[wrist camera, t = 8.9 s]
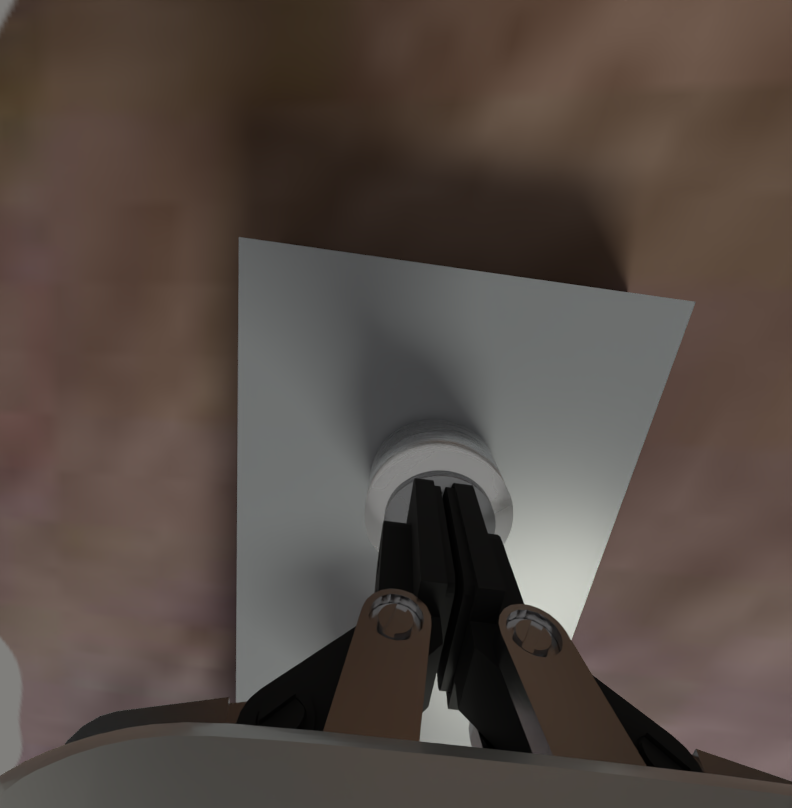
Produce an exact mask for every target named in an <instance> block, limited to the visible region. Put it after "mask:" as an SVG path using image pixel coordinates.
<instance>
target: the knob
mask: <svg viewBox="0 0 792 808" xmlns="http://www.w3.org/2000/svg"><path fill="white" fill-rule="evenodd" d="M414 478H420V479H427V480H434V485H435V486H440V487H441V492H442V498H443V494H444V490H445V487H450V488H451V487H452V484H453V483H459V484H467V485H473V487H474V490H475V493H476V496H477V499H478V503H479V506H480V509H481V512H482V516H483V519H484V522H485V525H486V529H487V532H488V533H489V534H497V535H499V536H500V537H501V539H502V542H503V545H504V544H505V542H506V540H507V538H508V536H509V534H510V531H511V528H512V523H513V504H512V500H511V496H510V493H509V491H508V489H507V487H506V484H505V482H504V480H503V478H502V475H501V473H500V471H499V469H498V466H497V464H496V462H495V460H494V458H493V455H492V453H491V451H490V449H489V448H488V446H487V445H486V443H485V442H484V441H483V440H482V439H481V438H480V437H479V436H478V435H477V434H476V433H475V432H473V431H472V430H470V429H469V428H467V427H465V426H463V425H461V424H458V423H455V422H451V421H446V420H424V421H418V422H415V423H411V424H409V425H406V426H404V427H402V428H400V429H399V430H397V431H395V432H394V433H393V434H392V435H390V436H389V437H388V438H387V439H386V440H385V441H384V442H383V443H382V445H381V446H380V448H379V449H378V451H377V453H376V455H375V457H374V460H373V463H372V467H371V473H370V479H369V485H368V491H367V497H366V503H365V510H364V521H365V527H366V531H367V534H368V537H369V539H370V541H371V543H372V545H373V546H374V548H375V549H376V550H377V552H378V553H379V546H380V539H381V532H382V525H383V521H392V522H400V523H406V522H407V516H408V510H409V504H410V498H411V493H412V487H413V481H414Z"/></svg>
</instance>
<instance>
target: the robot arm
mask: <svg viewBox="0 0 792 808" xmlns="http://www.w3.org/2000/svg"><path fill="white" fill-rule="evenodd" d="M436 673H437V682H438V689H439V691H446V696H447V706H448V709H452V710H459V711H460V712H461V713H462V714H463V715H464V716H465V717H466V718H467V719H468V720H469V722H470V723H469V728H468V729H469V737H470V742H471V745H472V747H468V746H459V745H450V744H440V743H431V742H421V741H420V731H421V721H422V713H423V712H424V711H425V710H426V709H427V708H428V707H429V703H430V699H431V694H432V690H433V686H434V682H435V678H436ZM0 808H792V781H789V780H786V779H783V778H780V777H777V776H774V775H771V774H768V773H765V772H762V771H759V770H756V769H753V768H751V767H748V766H745V765H742V764H739V763H736V762H733V761H730V760H727V759H724V758H721V757H718V756H715V755H712V754H709V753H706V752H703V751H701V750H698V749H696V750H695V751H694V753H693V755H691V754H690V752H689V751H688V750H687V749H686V748H685V747H684V746H683V745H682V744H681V743H680V742H679V741H678V740H677V739H675V738H674V737H673V736H672V735H671V734H669V733H668V732H667V731H666V730H664V729H663V728H662V727H660V726H659V725H658V724H656V723H655V722H654V721H652V720H651V719H650V718H648V717H647V716H646V715H644V714H643V713H642V712H640V711H639V710H638V709H636V708H635V707H634V706H632V705H631V704H630V703H628V702H627V701H626V700H625V699H623V698H622V697H621V696H619V695H618V694H617V693H615V692H614V691H613V690H611V689H610V688H609V687H607V686H606V685H605V684H603V683H602V682H601V681H599V680H598V679H597V678H595V677H594V676H593V675H592V674H591V672H590V671H589V669H588V667H587V666H586V664H585V662H584V661H583V659H582V657H581V656H580V654H579V652H578V651H577V649H576V647H575V645H574V644H573V642H572V640H571V639H570V637H569V635H568V634H567V632H566V631H565V629H564V628H563V627H562V625H561V624H560V623H559V622H558V621H557V620H556V619H555V618H553V617H552V616H551V615H550V614H548V613H546V612H545V611H543V610H541V609H539V608H536V607H534V606H531V605H525V604H524V602H523V599H522V596H521V593H520V590H519V588H518V585H517V582H516V579H515V576H514V573H513V570H512V568H511V565H510V562H509V559H508V556H507V553H506V551H505V548H504V545H503V542H502V539H501V537H500V536H499V535H497V534H489V533H488V532H487V529H486V525H485V522H484V519H483V516H482V512H481V509H480V506H479V503H478V499H477V496H476V493H475V490H474V487H473V485H467V484H459V483H453V484H452V487H451V488H450V487H445V490H444V494H443V498H442V492H441V487H440V486H435V485H434V480H427V479H420V478H414V481H413V487H412V493H411V498H410V504H409V510H408V516H407V522H406V523H400V522H392V521H383V525H382V532H381V539H380V546H379V553H378V561H377V570H376V581H375V592H374V593H373V594H372V595H371V596H370V597H368V598H367V599H366V601H365V603H364V604H363V606H362V609H361V612H360V615H359V618H358V621H357V625H356V626H355V627H354V628H352V629H351V630H349V631H348V632H346V633H345V634H343V635H342V636H340V637H339V638H337V639H336V640H334V641H333V642H331V643H329V644H328V645H326V646H325V647H323V648H322V649H320V650H319V651H317V652H316V653H314V654H313V655H311V656H310V657H308V658H307V659H305V660H304V661H302V662H301V663H299V664H298V665H296V666H295V667H293V668H291V669H290V670H288V671H287V672H285V673H284V674H282V675H281V676H279V677H278V678H276V679H275V680H273V681H272V682H270V683H269V684H267V685H266V686H264V687H263V688H261V689H260V690H259V691H257V692H256V693H255V694H254V695H253V696H252V697H250V698H249V700H248V701H246V702H238V703H230V704H229V697H226V698H218V699H210V700H202V701H194V702H186V703H178V704H170V705H162V706H154V707H146V708H138V709H131V710H123V711H116V712H113V713H109V714H106V715H102V716H99V717H98V718H96V719H94V720H93V721H91V722H89V723H87V724H86V725H84V726H82V727H81V728H80V729H79V730H78V731H77V732H76V733H75V734H74V735H73V736H72V737H71V738H70V739H69V740H67V742H66V743H65V745H63V746H60V747H58V748H55V749H52V750H50V751H47V752H45V753H43V754H41V755H38V756H36V757H34V758H32V759H29V760H27V761H25V762H23V763H21V764H19V765H18V766H16V767H14V768H12V769H11V770H9V771H7V772H5V773H4V774H2V775H1V776H0Z"/></svg>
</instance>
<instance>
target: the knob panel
mask: <svg viewBox="0 0 792 808" xmlns="http://www.w3.org/2000/svg"><path fill="white" fill-rule="evenodd" d="M694 305H695V302H692V301H685V300H678V299H671V298H664V297H657V296H650V295H643V294H636V293H629V292H622V291H615V290H608V289H601V288H594V287H587V286H580V285H573V284H566V283H559V282H552V281H545V280H538V279H531V278H524V277H517V276H510V275H503V274H496V273H489V272H482V271H475V270H468V269H461V268H453V267H446V266H439V265H432V264H425V263H418V262H411V261H404V260H397V259H390V258H383V257H376V256H369V255H362V254H355V253H348V252H341V251H334V250H327V249H320V248H313V247H306V246H299V245H292V244H285V243H278V242H271V241H264V240H257V239H250V238H243V237H239V290H238V448H237V607H236V703H238V702H246V701H248V700H249V698H250V697H252V696H253V695H254V694H255V693H256V692H257V691H259V690H260V689H261V688H263V687H264V686H266V685H267V684H269V683H270V682H272V681H273V680H275V679H276V678H278V677H279V676H281V675H282V674H284V673H285V672H287V671H288V670H290V669H291V668H293V667H295V666H296V665H298V664H299V663H301V662H302V661H304V660H305V659H307V658H308V657H310V656H311V655H313V654H314V653H316V652H317V651H319V650H320V649H322V648H323V647H325V646H326V645H328V644H329V643H331V642H333V641H334V640H336V639H337V638H339V637H340V636H342V635H343V634H345V633H346V632H348V631H349V630H351V629H352V628H354V627H355V626H356V625H357V621H358V618H359V615H360V612H361V609H362V606H363V604H364V603H365V601H366V599H367V598H368V597H370V596H371V595H372V594H373V593H374V592H375V581H376V570H377V561H378V552H377V550H376V549H375V548H374V546H373V545H372V543H371V541H370V539H369V537H368V534H367V531H366V527H365V521H364V510H365V503H366V497H367V491H368V485H369V479H370V473H371V467H372V463H373V460H374V457H375V455H376V453H377V451H378V449H379V448H380V446H381V445H382V443H383V442H384V441H385V440H386V439H387V438H388V437H389V436H390V435H392V434H393V433H394V432H395V431H397V430H399V429H400V428H402V427H404V426H406V425H409V424H411V423H415V422H418V421H424V420H446V421H451V422H455V423H458V424H461V425H463V426H465V427H467V428H469V429H470V430H472V431H473V432H475V433H476V434H477V435H478V436H479V437H480V438H481V439H482V440H483V441H484V442H485V443H486V445H487V446H488V448H489V449H490V451H491V453H492V455H493V458H494V460H495V462H496V464H497V466H498V469H499V471H500V473H501V475H502V478H503V480H504V482H505V484H506V487H507V489H508V491H509V493H510V496H511V500H512V504H513V523H512V528H511V531H510V534H509V536H508V538H507V540H506V542H505V544H504V548H505V551H506V553H507V556H508V559H509V562H510V565H511V568H512V570H513V573H514V576H515V579H516V582H517V585H518V588H519V590H520V593H521V596H522V599H523V602H524V604H525V605H531V606H534V607H536V608H539V609H541V610H543V611H545V612H546V613H548V614H550V615H551V616H552V617H553V618H555V619H556V620H557V621H558V622H559V623H560V624H561V625H562V627H563V628H564V629H565V631H566V632H567V634H568V635H569V637H570V639H572V637H573V634H574V631H575V628H576V626H577V623H578V620H579V618H580V615H581V612H582V609H583V607H584V604H585V601H586V598H587V596H588V593H589V590H590V588H591V585H592V582H593V579H594V577H595V574H596V571H597V569H598V566H599V563H600V560H601V558H602V555H603V552H604V550H605V547H606V544H607V541H608V539H609V536H610V533H611V531H612V528H613V525H614V522H615V520H616V517H617V514H618V511H619V509H620V506H621V503H622V501H623V498H624V495H625V492H626V490H627V487H628V484H629V482H630V479H631V476H632V473H633V471H634V468H635V465H636V463H637V460H638V457H639V454H640V452H641V449H642V446H643V443H644V441H645V438H646V435H647V433H648V430H649V427H650V424H651V422H652V419H653V416H654V414H655V411H656V408H657V405H658V403H659V400H660V397H661V395H662V392H663V389H664V386H665V384H666V381H667V378H668V376H669V373H670V370H671V367H672V365H673V362H674V359H675V356H676V354H677V351H678V348H679V346H680V343H681V340H682V337H683V335H684V332H685V329H686V327H687V324H688V321H689V318H690V316H691V313H692V310H693V308H694ZM469 723H470V722H469V720H468V719H467V718H466V717H465V716H464V715H463V714H462V713H461V712H460V711H459V710H452V709H448V706H447V696H446V691H439V689H438V682H437V673H436V678H435V682H434V686H433V690H432V694H431V699H430V703H429V707H428V708H427V709H426V710H425V711H424V712H423V713H422V721H421V731H420V741H421V742H431V743H440V744H450V745H459V746H468V747H472V745H471V742H470V737H469V729H468V728H469Z"/></svg>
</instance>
